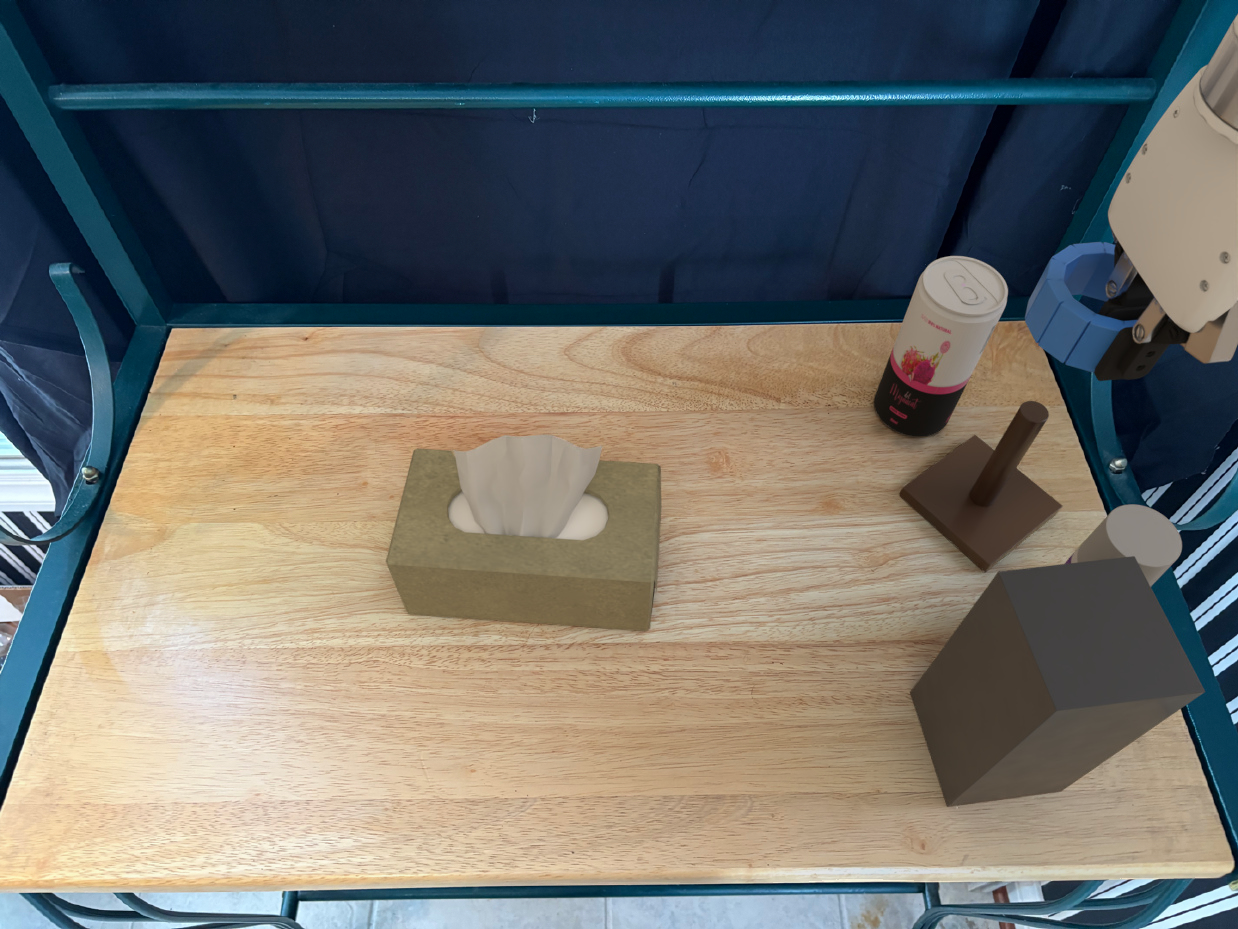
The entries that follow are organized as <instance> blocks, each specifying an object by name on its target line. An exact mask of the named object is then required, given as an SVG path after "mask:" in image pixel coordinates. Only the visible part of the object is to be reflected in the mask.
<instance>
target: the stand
mask: <svg viewBox="0 0 1238 929" xmlns="http://www.w3.org/2000/svg"><path fill="white" fill-rule="evenodd" d="M1049 416H1050V414H1049V410H1048V408H1047V407H1046V406H1045V405H1044V404H1042V403H1041V402H1038V401H1036V400H1026V401H1024V402H1022V403H1021V404H1020V407H1018V409H1017V411H1016V413H1015V414H1014V416H1013V418H1012V419H1011V421H1010V423H1009V424H1008V426H1007V428H1006V429H1005V431H1004V433H1003V434H1002V436H1001V438H1000V440H999V442H998V443H997V445H996V446H995V448H993V447H991V446H990V445H989V444H987V443H986V442H985V441H984V440H982V439H981V438H980V437H979V436H978V435H977V434H973V435H972V436H971V437H969V438H968V439H967V440H965V441H964V442H962V443H961V444H960V445H958V446H957V447H955V448H954V449H953V450H951V451H950V452H948V453H947V454H945V456H943V457H942V458H940V459H939V460H937V461H936V462H935V463H933V465H931V466H930V467H928V468H927V469H925V470H924V471H923V472H922V473H920V474H919V475H918V476H915V478H913V479H912V480H911V481H910V482H908V483H906V484H905V485H904V486H902V487H901V490H900V492H899V494H898V496H899V498H901V499H902V500H903V501H904V502H906V504H908V505H909V506H910V507H911V508H912V509H913V510H914V511H916V512H917V513H918V514H919V515H920V516H921V517H922V518H923V519H924V520H925V521H927V522H928V524H930V525H931V526H932V527H933V528H935V530H937V532H939V533H940V534H941V535H942V536H944V537H945V539H947V540H948V541H949V542H950V543H951V544H952V545H953V546H955V547H956V548H957V549H958V550H959V551H960V552H961V553H963V554H964V555H965V556H966V557H967V558H968V559H969V560H970V561H972V563H974V564H975V565H976V566H977V567H978V568H979V569H980V570H981V571H983V573H987V572H988V571H989V570H991V568H993V567H994V566H995V565H997V564H998V563H999V562H1000V561H1001V560H1002V559H1004V558H1005V557H1006V556H1008V555H1009V554H1010V553H1011V552H1012V551H1013V550H1015V549H1016V548H1018V547H1019V546H1020V545H1021V544H1022V543H1023V542H1024V541H1025V540H1027V539H1028V538H1029V537H1030V536H1032V535H1033V534H1034V533H1035V532H1037V531H1038V530H1039V529H1041V527H1043V526H1044V525H1045V524H1047V523H1048V522H1049V521H1050V520H1051V519H1052V518H1054V517H1055V516H1056V515H1058V513H1059V512H1060V510H1061V509H1062V508H1063V504H1062V503H1060V502H1059V501H1057V499H1056V498H1054V497H1053V496H1052V495H1050V494H1049V493H1048V492H1047V491H1045V490H1044V489H1043V488H1042V487H1040V486H1039V485H1038V484H1037V483H1035V482H1034V481H1033V480H1031V478H1029V477H1028V476H1027V475H1025V473H1023V472H1022V471H1021V470H1019V468H1017V467H1018V466H1019V465H1020V463H1021V462H1022V460H1023V458H1024V457H1025V455H1026V454H1027V452H1028V451H1029V449H1030V447H1031V446H1032V444H1033V442H1034V441H1035V439H1036V438H1037V437H1038V435H1039V433H1040V431H1041V430H1042V429H1043V427H1044V425H1045V424H1046V423H1047V421H1048V419H1049V418H1050V417H1049Z"/></svg>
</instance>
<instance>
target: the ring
mask: <svg viewBox="0 0 1238 929" xmlns="http://www.w3.org/2000/svg"><path fill="white" fill-rule="evenodd" d="M1115 245H1116V244H1113V243H1109V242H1105V241H1104V242H1101V241H1095V242H1083V243H1072V244H1069V245H1068V246H1066V247H1065V248H1064V249H1062V250H1060V251H1059V252H1057V253H1056V254H1054V255H1052V257H1051V258H1050V259H1049V261H1048V262H1047V265H1046V267H1045V269H1044V271H1043V272H1042V275H1041V276H1040V278H1039V280H1038V282H1037V284H1036V286H1035V288H1034V289H1033V292H1032V293H1031V295H1030V297H1029V298H1028V302H1027V305H1026V306H1027V307H1026V310H1025V315H1024V320H1025V321H1024V324H1026V327H1027V328H1028V331H1029V332H1030V334H1031V336H1032V338H1033V340H1034V342H1035V343H1036V344H1037V345H1038V347H1039V348H1041V349H1042V350H1044V351H1045V352H1046V353H1048V354H1049V355H1051V356H1052V357H1053V358H1055V359H1056V360H1058V361H1059V363H1061V364H1064V365H1066V366H1069V367H1073V368H1075V369H1079V370H1083V371H1086V372H1088V373H1089V372H1090V373H1093V374H1094V371H1095V368H1096V366H1097V365H1098V363H1099V362H1100V360H1101V359H1102V357H1103V356H1104V354H1105V353H1106V351H1107V350H1108V348H1109V346H1110V345H1111V343H1112V342H1113V340H1114V339H1115V337H1116V336H1117V334H1118V333H1119V331H1120V330H1122V329H1123V328H1126V327H1133V326H1134V324H1135V323H1136V322H1137V320H1129V321H1121V320H1117V319H1114V318H1110V317H1107V316H1103V315H1099V314H1098V313H1096V312H1095V311H1093V310H1091V309H1090V308H1088V307H1087V306H1086V305H1084V304H1083V303H1081V302H1080V301H1078V300H1077V299H1075V298H1074V296H1077V295H1082V296H1085V297H1088V298H1092V299H1096V300H1099V301H1103V302H1104V303H1105V302H1106V301H1108V299H1109V298H1108V297H1107V296H1106V293H1105V285H1106V282H1107V280H1108V278H1109V277H1110V275H1111V273H1112V271H1113V269H1114V249H1115ZM1153 297H1155V296H1154V295H1153ZM1169 319H1171V318H1169Z"/></svg>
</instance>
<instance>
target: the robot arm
mask: <svg viewBox="0 0 1238 929" xmlns="http://www.w3.org/2000/svg"><path fill="white" fill-rule="evenodd" d="M1107 219H1108V224H1109V227H1110V231H1111V234H1112V237H1113V241H1114V245H1115V249H1114V269H1113V271H1112V273H1111V275H1110V277H1109V278H1108V280H1107V282H1106V285H1105V293H1106V296H1107V297H1108V298H1109V299H1108V301H1106V302H1105V301H1104V303H1103V305H1102V306H1101V308H1100V310H1099V311H1098V313H1097V314H1099V315H1103V316H1107V317H1110V318H1114V319H1117V320H1121V321H1129V320H1137V322H1136V323H1135V324H1134V326H1133V327H1126V328H1123V329H1122V330H1120V331H1119V333H1118V334H1117V336H1116V337H1115V339H1114V340H1113V342H1112V343H1111V345H1110V346H1109V348H1108V350H1107V351H1106V353H1105V354H1104V356H1103V357H1102V359H1101V360H1100V362H1099V363H1098V365H1097V366H1096V368H1095V371H1094V373H1093V374H1094V376H1095V378H1096V380H1097V381H1099V382H1107V381H1115V380H1126V381H1127V380H1128V381H1130V380H1138V379H1141V378H1143V377H1145V376H1146V375H1148V374H1149V373H1150V372H1151V371H1152V369H1153V368H1154V366H1155V365H1156V364H1157V362H1158V361H1159V360H1160V358H1161V357H1162V356H1163V354H1164V353H1165V351H1167V349H1168V348H1169V347H1170V345H1180V346H1182V347H1183V350H1184V351H1186V352H1187V353H1188V354H1190V356H1192V357H1193V358H1195V359H1196V360H1198V361H1199V362H1200V363H1202V364H1214V363H1226V362H1229V361H1231V360H1232V359H1233V358H1234V355H1235V352H1236V350H1237V347H1238V14H1237V15H1235V18H1234V19H1233V21H1232V23H1231V24H1230V26H1229V27H1228V30H1227V31H1226V33H1225V34H1224V37H1223V38H1222V40H1221V41H1220V43H1219V45H1218V47H1217V49H1216V50H1215V52H1214V54H1213V55H1212V56H1211V59H1210V60H1209V62H1208V64H1205V65H1204V66H1203V67H1201V68H1200V69H1199V70H1198V72H1197V73H1195V75H1194V76H1193V77H1192V78H1191V80H1189V82H1188V83H1186V85H1185V86H1184V87H1183V89H1181V91H1180V92H1179V94H1178V95H1177V96H1176V97H1175V98H1174V100H1173V101H1172V103H1170V105H1169V107H1167V109H1166V110H1165V112H1164V113H1163V115H1162V116H1161V117H1160V118H1159V120H1158V121H1157V123H1156V124H1155V126H1154V127H1153V129H1151V131H1150V133H1149V135H1147V137H1146V139H1145V140H1144V142H1143V144H1142V145H1141V147H1140V148H1139V149H1138V151H1137V153H1136V154H1135V156H1134V157H1133V159H1132V161H1131V163H1130V165H1129V166H1128V168H1127V169H1126V172H1125V173H1124V175H1123V177H1122V178H1121V179H1120V182H1119V184H1118V186H1117V187H1116V190H1115V192H1114V193H1113V196H1112V199H1111V201H1110V204H1109V208H1108V210H1107ZM1153 295H1154V296H1155V297H1153ZM1169 318H1171V319H1169Z"/></svg>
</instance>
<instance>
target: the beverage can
mask: <svg viewBox="0 0 1238 929" xmlns="http://www.w3.org/2000/svg"><path fill="white" fill-rule="evenodd" d="M917 280H918V281H917V283H916V286H915V288H914V291H913V293H912V296H911V299H910V302H909V305H908V306H907V309H906V312H905V315H904V317H903V320H902V322H901V325H900V327H899V330H898V333H897V336H896V339H895V340H894V343H893V347H892V349H891V352H890V355H889V357H888V360H887V363H886V365H885V368H884V371H883V373H882V375H881V377H880V380H879V384H878V386H877V389H876V391H875V393H874V399H873V406H874V410H875V413H876V415H877V417H878V418H879V420H881V422H882V423H883V424H884V425H885V426H886V427H887V428H890V429H891V430H892V431H894V432H896V433H898V434H901V435H904V436H908V437H914V438H926V437H930V436H933V435H936V434H938V433H939V432H941V431H942V430H943V429H945V428H946V426H947V425H948V423H949V421H950V419H951V417H952V415H953V413H954V411H955V409H956V407H957V405H958V402H959V401H960V399H961V397H962V395H963V393H964V391H965V389H966V387H967V385H968V383H969V381H970V379H971V377H972V375H973V373H974V371H975V369H976V366H978V363H979V362H980V359H981V358H982V355H983V353H984V351H985V349H986V347H987V345H988V343H989V341H990V339H991V337H992V335H993V333H994V330H995V329H996V326H997V325H998V322H999V321H1000V318H1001V317H1002V315H1003V313H1004V311H1005V309H1006V306H1007V302H1008V295H1009V287H1008V285H1007V282H1006V280H1005V279H1004V277H1003V276H1002V275H1001V273H1000V272H999V271H997V269H996V268H994V267H993V266H992V265H990V264H988V263H986V262H984V261H982V260H979V259H976V258H974V257H968V256H963V255H950V256H944V257H940V258H938V259H935V260H933V261H932V262H930V263H929V264H928V265H927V267H925V269H924V271H923V272H922V273H921V274H920V276H919V277H918V279H917Z"/></svg>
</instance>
